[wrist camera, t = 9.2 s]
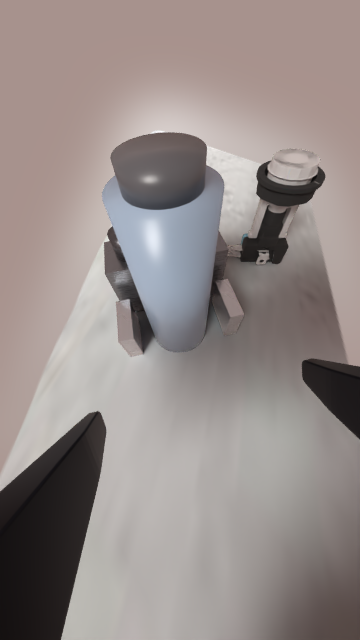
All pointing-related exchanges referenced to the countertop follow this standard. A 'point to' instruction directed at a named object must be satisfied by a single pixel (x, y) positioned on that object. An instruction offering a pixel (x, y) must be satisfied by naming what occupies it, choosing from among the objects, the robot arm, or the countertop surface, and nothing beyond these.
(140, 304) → the motor block
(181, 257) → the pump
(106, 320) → the countertop surface
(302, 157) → the push button
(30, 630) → the robot arm
